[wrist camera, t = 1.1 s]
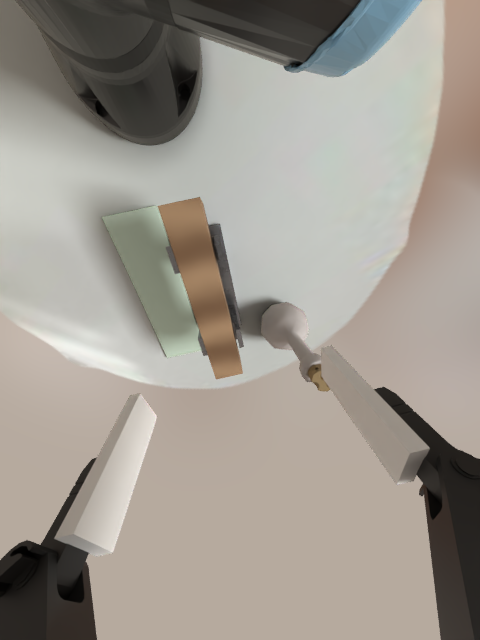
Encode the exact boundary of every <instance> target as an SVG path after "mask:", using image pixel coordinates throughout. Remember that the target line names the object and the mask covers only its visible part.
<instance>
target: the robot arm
mask: <svg viewBox="0 0 480 640" xmlns="http://www.w3.org/2000/svg"><path fill="white" fill-rule="evenodd" d="M15 1H16V2H17V3H18V4H19V5H20V6H21V7H22V9H23V10H24V11H25V12H26V13H27V14H28V15H29V17H30V18H31V19H32V20H33V21H34V22H35V23H36V25H37V26H38V28H39V30H40V32H41V34H42V36H43V38H44V40H45V41H46V43H47V45H48V47H49V49H50V51H51V53H52V55H53V56H54V58H55V60H56V62H57V64H58V66H59V68H60V70H61V71H62V73H63V75H64V77H65V78H66V80H67V81H68V83H69V84H70V86H71V87H72V89H73V90H74V92H75V93H76V94H77V96H78V97H79V98H80V100H81V101H82V102H83V103H84V104H85V105H86V106H87V108H88V109H89V110H90V111H91V112H92V113H93V114H94V115H95V116H96V117H97V118H98V119H100V120H101V121H102V122H103V123H104V124H105V125H106V126H107V127H108V128H109V129H111V130H112V131H113V132H115V133H116V134H118V135H120V136H121V137H123V138H125V139H127V140H129V141H132V142H135V143H139V144H144V145H157V144H162V143H165V142H168V141H170V140H172V139H174V138H175V137H177V136H178V135H179V134H180V133H181V132H182V131H183V130H184V129H185V128H186V127H187V125H188V124H189V122H190V121H191V119H192V117H193V115H194V113H195V110H196V107H197V105H198V101H199V97H200V92H201V84H202V58H201V47H200V38H199V36H200V37H203V38H206V39H208V40H211V41H214V42H217V43H220V44H223V45H226V46H229V47H231V48H234V49H237V50H240V51H243V52H246V53H249V54H252V55H254V56H257V57H260V58H263V59H266V60H269V61H272V62H275V63H277V64H280V65H283V66H284V68H285V70H286V71H289V72H291V73H298V72H300V71H308V72H312V73H316V74H320V75H324V76H328V77H339V76H343V75H345V74H347V73H348V72H350V71H351V70H352V69H354V68H356V67H357V66H360V65H362V64H363V63H365V62H366V61H367V60H368V59H370V58H371V57H372V56H373V55H374V54H375V53H376V52H377V51H378V50H379V49H380V48H381V47H382V46H383V45H384V44H385V43H386V42H387V41H388V40H389V39H390V38H391V37H392V36H393V35H394V33H395V32H396V31H397V30H398V29H399V28H400V27H401V25H402V24H403V23H404V22H405V21H406V20H407V18H408V17H409V16H410V15H411V13H412V12H413V11H414V10H415V9H416V7H417V6H418V5H419V3H420V2H421V1H422V0H15ZM321 376H322V378H323V379H324V381H325V382H326V383H327V385H328V386H329V388H330V389H331V391H332V392H333V393H334V395H335V396H336V398H337V399H338V401H339V402H340V404H341V405H342V407H343V408H344V410H345V411H346V412H347V414H348V415H349V417H350V418H351V420H352V421H353V423H354V424H355V425H356V427H357V428H358V430H359V431H360V433H361V434H362V436H363V437H364V438H365V440H366V441H367V443H368V444H369V446H370V447H371V449H372V450H373V451H374V453H375V454H376V456H377V457H378V459H379V460H380V462H381V463H382V465H383V466H384V467H385V469H386V470H387V472H388V473H389V475H390V476H391V477H392V479H393V481H394V482H395V483H396V485H399V484H403V483H407V482H411V481H414V479H415V477H416V475H417V476H418V477H419V478H420V479H421V481H422V482H423V485H422V487H421V488H420V491H419V495H421V496H423V495H424V498H425V507H426V515H427V524H428V532H429V541H430V550H431V558H432V567H433V575H434V584H435V593H436V601H437V610H438V618H439V627H440V636H441V640H480V459H477V458H475V457H473V456H472V455H469V454H467V453H465V452H463V451H460V450H457V449H456V448H454V447H453V446H452V445H450V444H449V443H448V442H447V441H446V440H445V439H444V438H442V437H441V436H440V435H439V434H438V433H437V432H436V431H435V430H434V429H433V428H432V427H431V426H430V425H429V424H428V423H426V422H425V421H424V420H423V419H422V418H421V417H420V416H419V415H418V414H417V413H416V412H414V411H413V409H412V408H410V407H409V406H408V405H406V404H405V402H404V401H403V400H402V399H401V398H400V397H399V396H397V394H395V393H394V392H392V391H390V390H388V389H387V388H385V387H382V388H377V389H373V388H372V387H371V386H370V385H369V384H368V383H367V382H366V381H365V380H364V379H363V378H362V377H361V376H360V375H359V374H358V372H357V371H356V370H355V369H354V368H353V367H352V366H351V365H350V364H349V363H348V362H347V361H346V360H345V359H344V358H343V357H342V356H341V355H340V354H339V353H338V352H337V351H336V349H334V347H333V346H332V345H331V346H327V347H323V348H321ZM156 419H157V416H156V414H155V413H154V412H153V410H152V409H151V407H150V406H149V405H148V403H147V402H146V401H145V399H144V398H143V396H142V395H141V393H139V394H135V395H131V396H129V398H128V400H127V402H126V404H125V406H124V408H123V410H122V412H121V413H120V415H119V417H118V419H117V421H116V423H115V425H114V427H113V429H112V430H111V432H110V434H109V436H108V438H107V440H106V442H105V444H104V445H103V447H102V449H101V451H100V453H99V455H98V457H97V458H94V459H92V460H91V461H90V462H89V464H88V465H87V466H86V467H85V468H84V470H83V471H82V473H81V474H80V476H79V478H78V480H77V482H76V485H75V486H74V487H73V489H72V491H71V492H70V496H69V497H68V498H67V499H66V501H65V503H64V505H63V506H62V508H61V510H60V512H59V514H58V515H57V517H56V519H55V521H54V523H53V525H52V526H51V528H50V530H49V531H48V533H47V535H46V537H45V539H44V540H43V542H42V543H41V545H39V544H36V543H34V542H31V541H24V542H21V543H19V544H18V545H17V546H15V547H14V548H12V549H11V550H10V551H9V552H8V553H7V554H6V555H5V556H4V557H3V558H2V559H1V560H0V640H97V637H96V628H95V620H94V611H93V603H92V594H91V586H90V577H89V568H88V565H87V563H86V562H85V561H86V558H87V556H88V554H92V555H94V556H101V555H105V554H109V553H113V550H114V548H115V544H116V542H117V538H118V535H119V532H120V529H121V526H122V523H123V520H124V517H125V514H126V511H127V508H128V505H129V502H130V498H131V496H132V492H133V489H134V486H135V483H136V480H137V477H138V474H139V471H140V468H141V465H142V461H143V459H144V456H145V453H146V450H147V446H148V443H149V440H150V437H151V434H152V431H153V428H154V425H155V422H156Z"/></svg>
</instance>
